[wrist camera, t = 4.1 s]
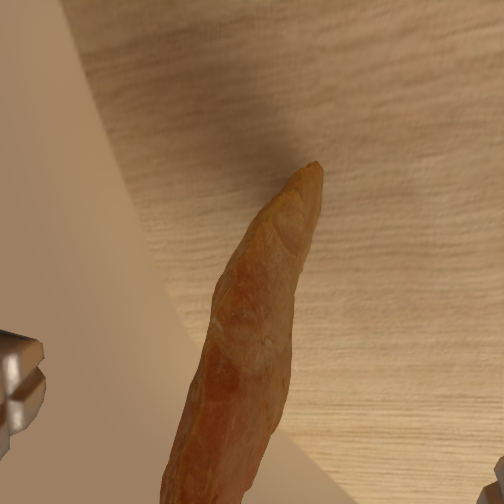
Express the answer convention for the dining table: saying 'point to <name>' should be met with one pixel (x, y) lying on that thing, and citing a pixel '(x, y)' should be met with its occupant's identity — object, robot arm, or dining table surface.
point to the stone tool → (245, 353)
